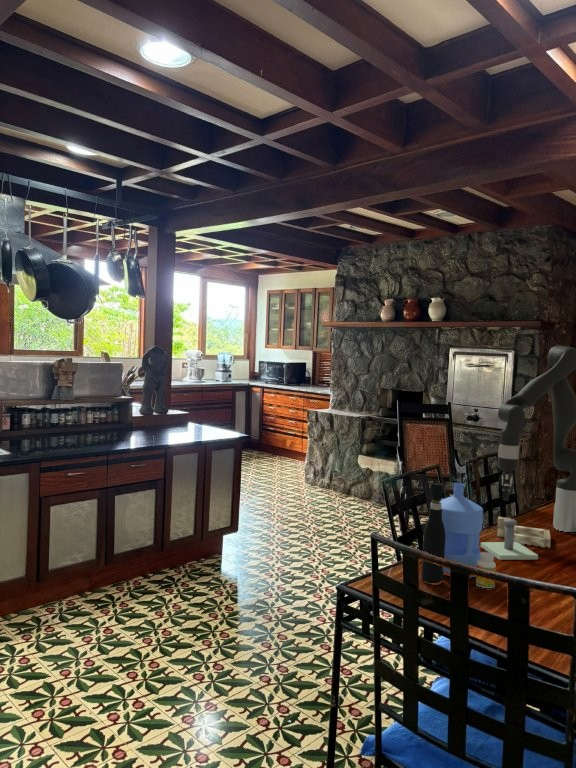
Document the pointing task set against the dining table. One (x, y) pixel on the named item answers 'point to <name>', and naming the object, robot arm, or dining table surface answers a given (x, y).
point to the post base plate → (509, 546)
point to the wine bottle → (434, 536)
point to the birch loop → (526, 534)
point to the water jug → (461, 527)
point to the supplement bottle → (487, 564)
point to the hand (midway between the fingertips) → (505, 498)
